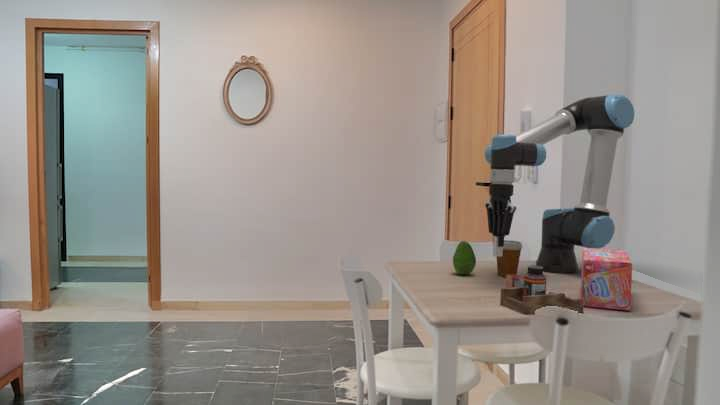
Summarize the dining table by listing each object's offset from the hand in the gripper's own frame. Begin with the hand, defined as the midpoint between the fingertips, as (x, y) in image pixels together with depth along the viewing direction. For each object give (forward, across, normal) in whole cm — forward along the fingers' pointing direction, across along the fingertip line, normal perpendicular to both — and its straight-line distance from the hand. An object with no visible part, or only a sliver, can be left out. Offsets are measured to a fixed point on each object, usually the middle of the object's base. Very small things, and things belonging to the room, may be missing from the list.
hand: (497, 256), depth 177 cm
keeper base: (+10, +28, -6) cm, 30 cm away
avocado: (+10, -17, -1) cm, 20 cm away
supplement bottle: (+10, +26, -7) cm, 29 cm away
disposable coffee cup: (+10, -11, +13) cm, 20 cm away
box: (+10, +25, +20) cm, 33 cm away
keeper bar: (+10, +13, +1) cm, 16 cm away
